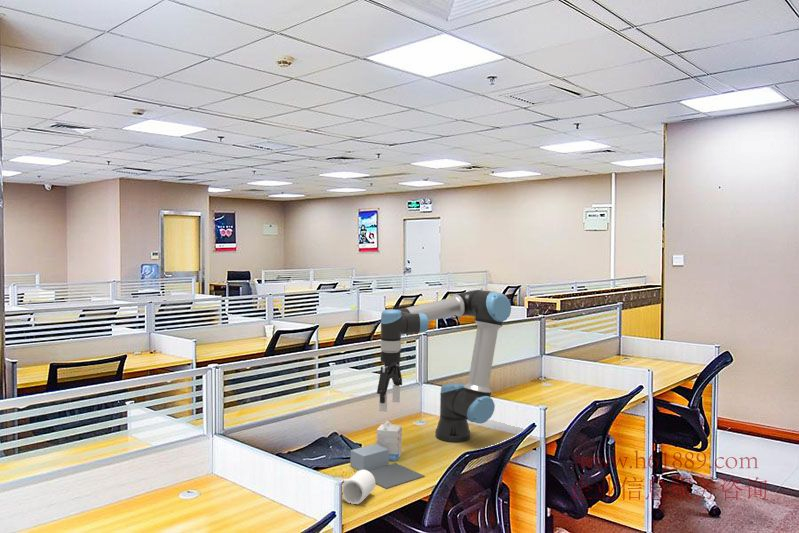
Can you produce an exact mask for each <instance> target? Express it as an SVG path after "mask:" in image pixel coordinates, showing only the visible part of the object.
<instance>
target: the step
mask: <svg viewBox="0 0 799 533" xmlns="http://www.w3.org/2000/svg"><path fill="white" fill-rule="evenodd" d="M349 456H350V458H349V462H350V464H349V467H351V468H353V469H355V470H357V471H359V470H367V471H369V470H372V469H376V468H379V467H383V466H386V465H390V460H389V449H387V448H384V447H382V446H380V445H377V443H374V444H370V445H366V446H365V445H364V446H362V447H358V448H354V449H351V450H350V455H349Z"/></svg>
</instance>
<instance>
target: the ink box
mask: <svg viewBox="0 0 799 533" xmlns="http://www.w3.org/2000/svg"><path fill="white" fill-rule="evenodd" d="M402 432H403V425H399V424H393V423H391V422H390V420H386V421H385V422H384V423H381V424H380V425H379V427H378V428H377V429H376V444H377V445H380V446H382V447H384V448H387V449H389V461H392V462H393V461H394V462H397V461H398V460H399V458H400V456H401V455H402V435H403V433H402Z"/></svg>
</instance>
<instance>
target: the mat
mask: <svg viewBox="0 0 799 533" xmlns="http://www.w3.org/2000/svg"><path fill="white" fill-rule="evenodd" d="M369 472H370V473H372V475H373V476H374V478H375V485H377V486H379V487H381V488H383V489H385V490H387V489H391V488H394V487H397V486H401V485H403V484H407V483H409V482H413V481H416V480H419V479H423V478H425V475H424V474H422V473H419V472H417V471H415V470H413V469H410V468H408V467H406V466H404V465H402V464H399V463H396V462H393V463H389V465H386V466H383V467H379V468H376V469H372V470H369Z"/></svg>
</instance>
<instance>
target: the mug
mask: <svg viewBox="0 0 799 533" xmlns="http://www.w3.org/2000/svg"><path fill="white" fill-rule="evenodd" d="M343 479H344V483H342V484H343V485H342V486H343V496H342V498H343V499H344V501H346V502H347V503H348V504H350V503H351V504H350V505H353V504H357V505H359V504H361V503H362V502H363V501H364V500H365V499H366V498H367V497H368V496H369V495H370V494H371V493H372V492H373V491H374V490H375V487H376V484H375V478H374V476H373V475H372V473H370V472H369V471H367V470H357V471H356V472H355V473H354V474H352V476H350V477H349V478H343Z"/></svg>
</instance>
